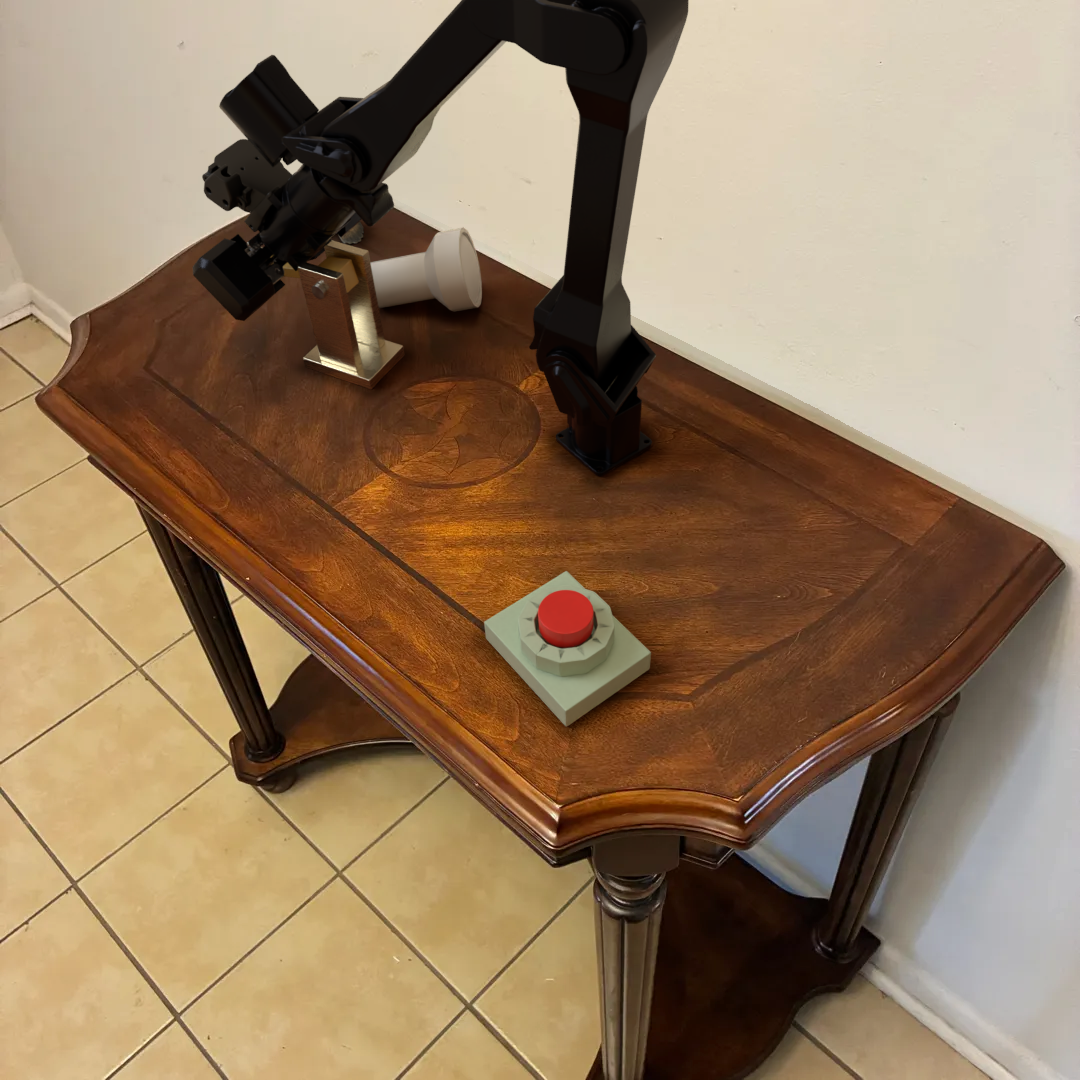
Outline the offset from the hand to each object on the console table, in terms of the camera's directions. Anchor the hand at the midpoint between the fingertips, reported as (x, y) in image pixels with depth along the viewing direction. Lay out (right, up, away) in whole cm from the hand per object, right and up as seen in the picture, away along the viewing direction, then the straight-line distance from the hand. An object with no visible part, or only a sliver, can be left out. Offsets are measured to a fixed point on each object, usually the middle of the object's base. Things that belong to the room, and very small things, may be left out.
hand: (250, 277), depth 98 cm
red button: (+31, -32, -26) cm, 51 cm away
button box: (+31, -35, -23) cm, 52 cm away
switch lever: (+6, -2, -3) cm, 7 cm away
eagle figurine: (+4, +10, +17) cm, 20 cm away
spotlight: (+18, -1, +7) cm, 19 cm away
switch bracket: (+10, -8, +1) cm, 13 cm away
